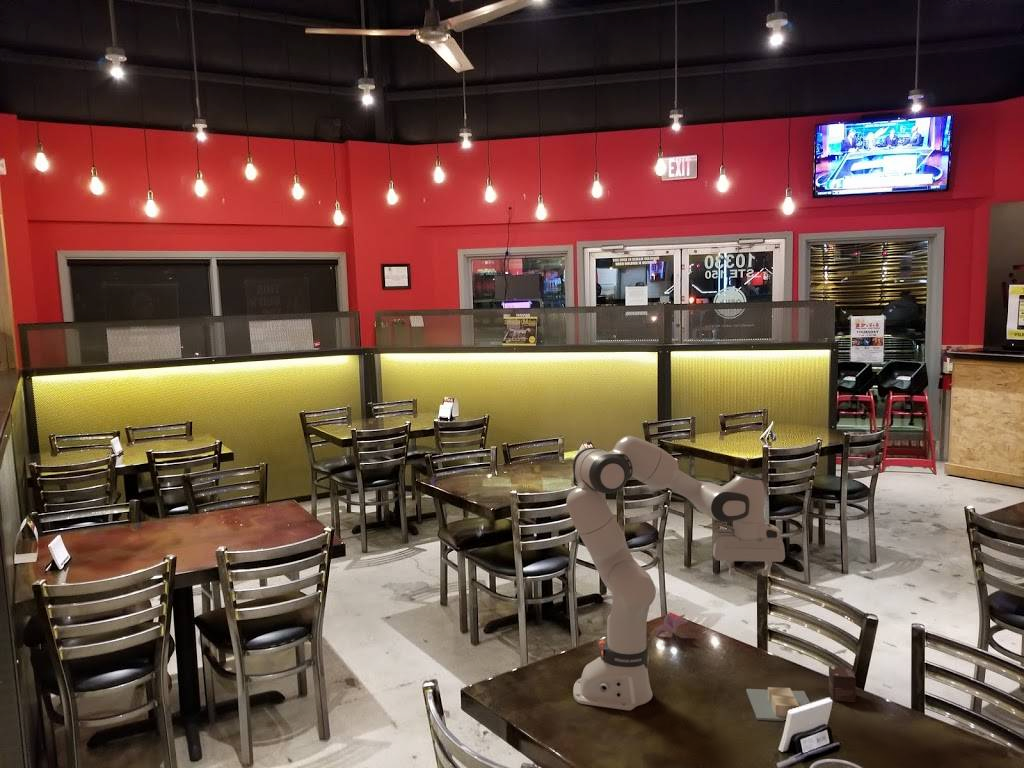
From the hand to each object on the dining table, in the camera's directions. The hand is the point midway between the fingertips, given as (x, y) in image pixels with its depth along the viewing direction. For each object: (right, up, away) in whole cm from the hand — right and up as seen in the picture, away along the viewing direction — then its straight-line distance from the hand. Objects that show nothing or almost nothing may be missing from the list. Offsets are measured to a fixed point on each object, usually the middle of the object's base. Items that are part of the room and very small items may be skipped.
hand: (748, 575), depth 222 cm
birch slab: (+5, -30, -12) cm, 33 cm away
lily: (-16, -29, +30) cm, 45 cm away
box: (+23, -32, -10) cm, 41 cm away
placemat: (+4, -32, -15) cm, 36 cm away
